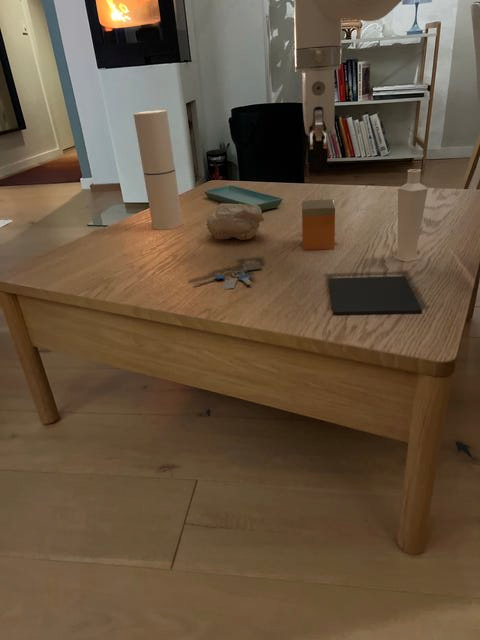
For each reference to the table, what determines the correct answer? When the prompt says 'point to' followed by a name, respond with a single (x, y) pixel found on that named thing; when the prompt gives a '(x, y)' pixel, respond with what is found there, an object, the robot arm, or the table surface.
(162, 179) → the cylindrical container
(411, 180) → the perfume bottle
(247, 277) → the toy rifle
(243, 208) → the fossil replica
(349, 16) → the robot arm
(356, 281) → the coaster
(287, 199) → the table surface
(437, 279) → the table surface
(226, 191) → the shallow long dish
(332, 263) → the table surface
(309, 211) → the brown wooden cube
